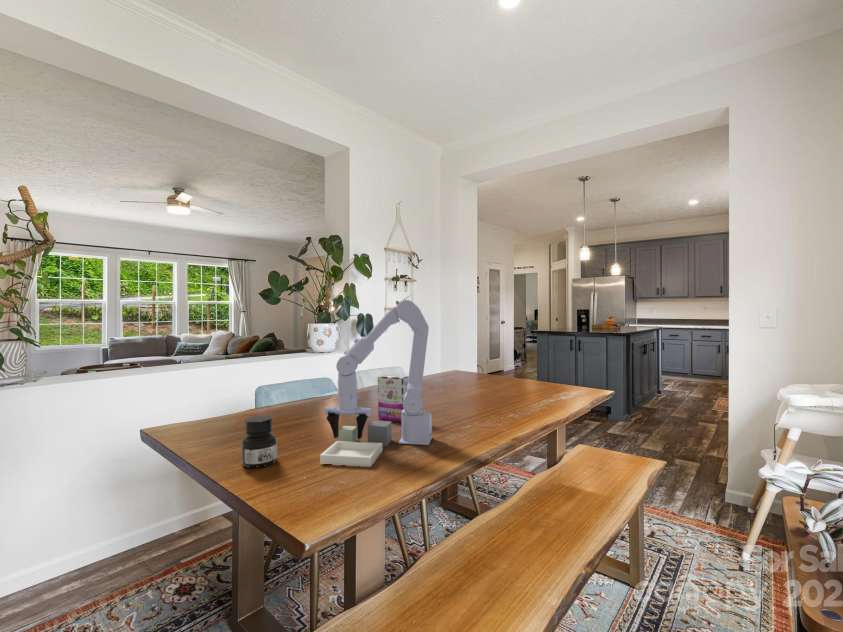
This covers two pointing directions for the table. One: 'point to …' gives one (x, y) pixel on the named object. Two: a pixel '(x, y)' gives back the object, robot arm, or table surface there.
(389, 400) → the candy bar box
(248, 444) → the ink bottle
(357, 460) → the tray
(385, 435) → the gray block
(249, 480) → the table surface
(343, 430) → the sage block
